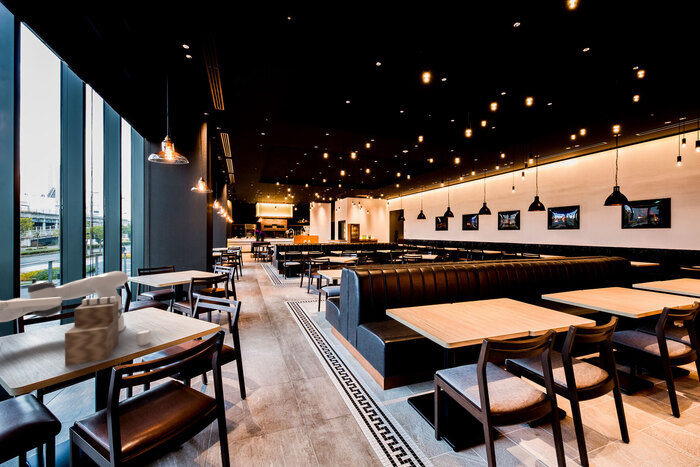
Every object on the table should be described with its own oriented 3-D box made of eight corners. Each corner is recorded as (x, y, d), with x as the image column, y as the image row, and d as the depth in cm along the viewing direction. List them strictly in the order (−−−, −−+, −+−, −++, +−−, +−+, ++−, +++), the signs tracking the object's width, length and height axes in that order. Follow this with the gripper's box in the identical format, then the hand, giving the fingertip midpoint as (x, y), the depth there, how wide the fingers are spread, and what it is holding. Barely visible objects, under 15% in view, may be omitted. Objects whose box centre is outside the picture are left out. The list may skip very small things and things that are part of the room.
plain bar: (-5, 309, 132) (-5, 302, 132) (-1, 307, 134) (-1, 301, 134) (59, 303, 142) (59, 297, 142) (62, 302, 144) (62, 296, 144)
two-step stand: (65, 365, 139) (64, 315, 139) (82, 347, 160) (82, 303, 160) (106, 359, 147) (106, 311, 146) (118, 342, 168) (118, 300, 168)
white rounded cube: (141, 341, 170) (141, 329, 170) (153, 340, 171) (153, 329, 171) (133, 345, 164) (133, 333, 163) (145, 345, 164) (145, 333, 164)
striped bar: (81, 305, 157) (81, 300, 157) (84, 304, 159) (83, 298, 159) (114, 302, 163) (114, 297, 163) (115, 301, 166) (115, 296, 166)
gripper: (-9, 320, 139) (25, 303, 145) (-41, 333, 121) (0, 314, 126) (-19, 310, 138) (16, 293, 143) (-52, 322, 119) (-11, 302, 125)
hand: (9, 303), depth 135 cm, fingers closed on plain bar, 3 cm apart
